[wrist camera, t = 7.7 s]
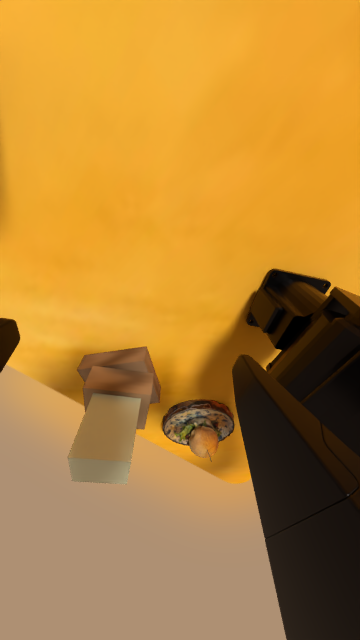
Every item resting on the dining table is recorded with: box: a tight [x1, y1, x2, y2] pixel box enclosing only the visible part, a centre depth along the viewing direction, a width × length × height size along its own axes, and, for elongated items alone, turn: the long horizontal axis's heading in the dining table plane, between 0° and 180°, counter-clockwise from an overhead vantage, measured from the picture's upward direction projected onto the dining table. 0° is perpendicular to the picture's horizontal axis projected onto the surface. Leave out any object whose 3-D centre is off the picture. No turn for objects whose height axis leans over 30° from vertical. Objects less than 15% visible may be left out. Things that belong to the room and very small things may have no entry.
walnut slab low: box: [77, 347, 161, 404], centre depth 27 cm, size 8×8×3 cm
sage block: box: [68, 393, 141, 484], centre depth 20 cm, size 5×5×6 cm
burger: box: [163, 399, 234, 462], centre depth 31 cm, size 12×12×8 cm
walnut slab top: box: [83, 366, 154, 429], centre depth 24 cm, size 7×7×3 cm
